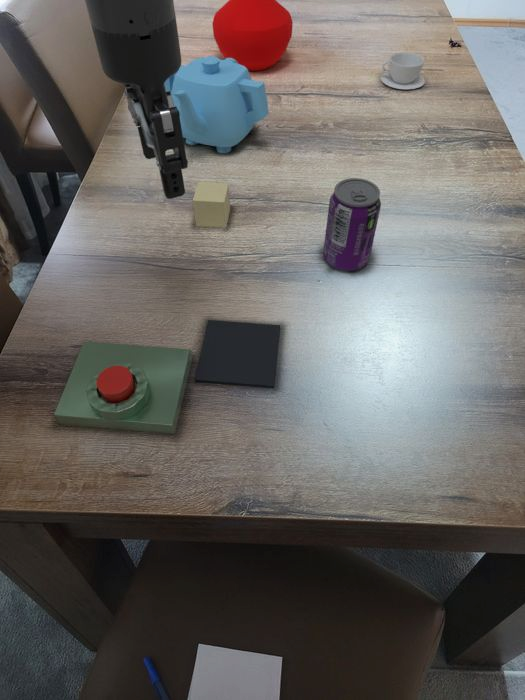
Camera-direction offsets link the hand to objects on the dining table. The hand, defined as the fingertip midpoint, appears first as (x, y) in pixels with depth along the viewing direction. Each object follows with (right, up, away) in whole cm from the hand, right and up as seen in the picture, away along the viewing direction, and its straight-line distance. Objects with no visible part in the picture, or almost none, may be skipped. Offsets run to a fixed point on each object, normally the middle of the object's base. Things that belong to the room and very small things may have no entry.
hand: (164, 175), depth 56 cm
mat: (+8, -21, +8) cm, 24 cm away
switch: (-6, -25, +1) cm, 25 cm away
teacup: (+43, +41, +56) cm, 82 cm away
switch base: (-5, -25, +5) cm, 26 cm away
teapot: (+2, +21, +41) cm, 46 cm away
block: (+3, +2, +26) cm, 26 cm away
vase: (+9, +49, +62) cm, 80 cm away
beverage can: (+24, -6, +20) cm, 32 cm away
